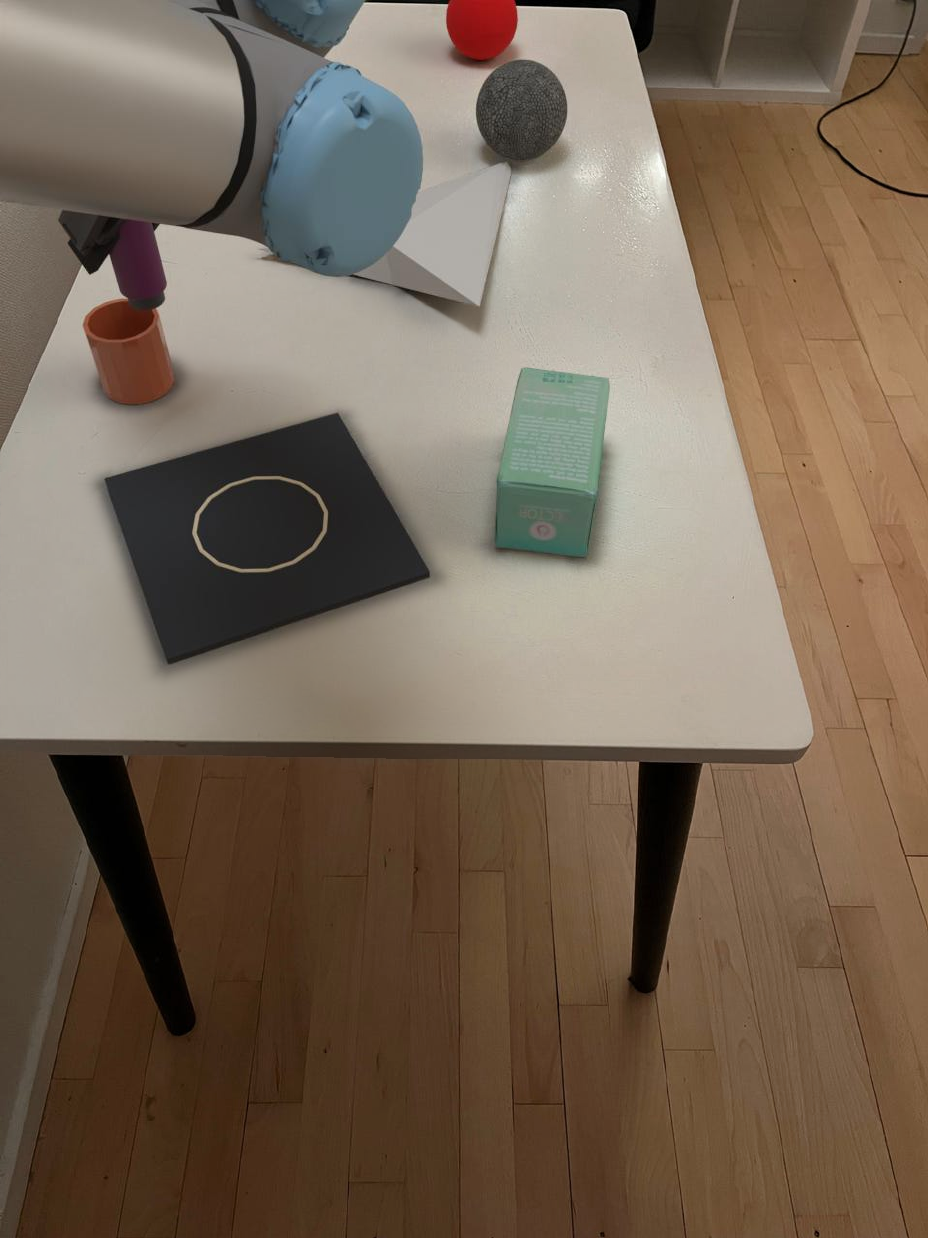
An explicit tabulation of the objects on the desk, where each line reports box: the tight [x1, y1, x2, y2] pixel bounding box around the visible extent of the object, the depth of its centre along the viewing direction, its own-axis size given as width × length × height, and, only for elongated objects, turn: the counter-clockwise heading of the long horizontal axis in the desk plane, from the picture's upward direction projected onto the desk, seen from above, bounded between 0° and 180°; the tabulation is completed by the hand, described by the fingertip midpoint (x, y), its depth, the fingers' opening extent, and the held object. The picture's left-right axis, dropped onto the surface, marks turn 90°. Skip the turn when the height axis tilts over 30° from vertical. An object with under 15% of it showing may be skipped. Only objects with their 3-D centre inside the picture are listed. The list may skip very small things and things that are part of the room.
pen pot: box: [82, 298, 175, 406], centre depth 91 cm, size 6×6×6 cm
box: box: [494, 366, 611, 558], centre depth 82 cm, size 7×14×8 cm, turn 171°
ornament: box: [445, 0, 519, 61], centre depth 132 cm, size 9×9×10 cm
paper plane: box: [258, 160, 513, 307], centre depth 108 cm, size 26×28×4 cm
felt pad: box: [104, 412, 431, 664], centre depth 82 cm, size 20×20×1 cm
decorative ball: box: [475, 59, 568, 162], centre depth 116 cm, size 10×10×10 cm
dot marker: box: [108, 219, 168, 311], centre depth 79 cm, size 4×4×10 cm
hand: (105, 245), depth 82 cm, fingers closed on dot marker, 4 cm apart
